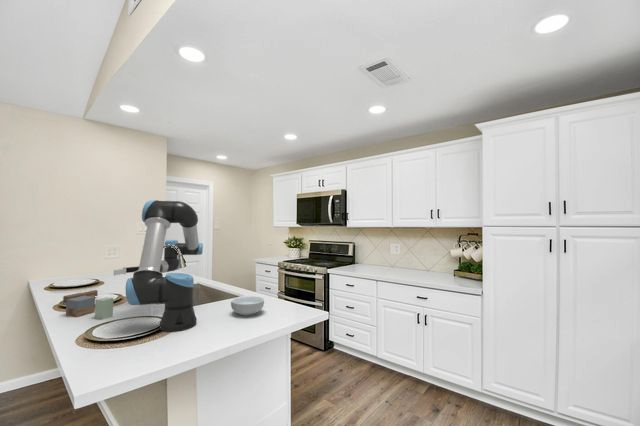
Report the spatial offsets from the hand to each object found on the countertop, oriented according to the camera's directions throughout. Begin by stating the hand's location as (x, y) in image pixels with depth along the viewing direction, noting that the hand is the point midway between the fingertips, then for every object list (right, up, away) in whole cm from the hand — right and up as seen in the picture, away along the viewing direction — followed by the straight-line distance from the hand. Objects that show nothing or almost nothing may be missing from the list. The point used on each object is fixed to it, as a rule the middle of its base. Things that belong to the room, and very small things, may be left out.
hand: (123, 273), depth 149 cm
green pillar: (-3, -19, -10) cm, 22 cm away
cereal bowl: (+65, -21, 0) cm, 68 cm away
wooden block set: (-32, -20, +17) cm, 42 cm away
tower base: (-18, -19, -5) cm, 27 cm away
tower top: (-18, -15, -5) cm, 24 cm away
